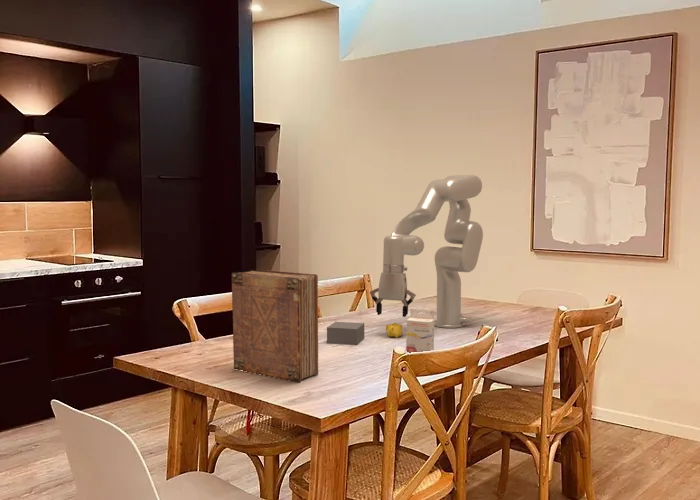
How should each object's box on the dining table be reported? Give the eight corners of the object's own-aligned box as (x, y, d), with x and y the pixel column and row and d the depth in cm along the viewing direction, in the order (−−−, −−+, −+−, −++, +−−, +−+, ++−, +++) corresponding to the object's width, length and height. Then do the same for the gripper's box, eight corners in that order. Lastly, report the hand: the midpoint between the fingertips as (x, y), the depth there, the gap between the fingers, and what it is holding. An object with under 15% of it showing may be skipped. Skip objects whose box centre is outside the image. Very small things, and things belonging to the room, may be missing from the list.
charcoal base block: (364, 339, 252) (364, 323, 251) (356, 345, 241) (356, 329, 241) (335, 337, 255) (335, 321, 254) (326, 344, 244) (326, 327, 244)
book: (319, 375, 203) (318, 274, 200) (300, 382, 195) (299, 278, 192) (253, 363, 216) (252, 269, 214) (233, 370, 209) (231, 272, 206)
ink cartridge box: (405, 354, 227) (405, 310, 226) (409, 351, 232) (409, 308, 231) (431, 356, 225) (431, 312, 223) (434, 353, 229) (434, 309, 228)
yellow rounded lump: (390, 333, 260) (390, 320, 260) (404, 335, 258) (404, 321, 257) (381, 337, 253) (381, 324, 253) (396, 339, 251) (396, 325, 250)
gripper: (418, 269, 254) (417, 315, 255) (374, 267, 259) (372, 312, 261) (413, 271, 246) (411, 318, 248) (367, 268, 252) (366, 315, 254)
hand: (391, 315), depth 254 cm, fingers open, 9 cm apart
